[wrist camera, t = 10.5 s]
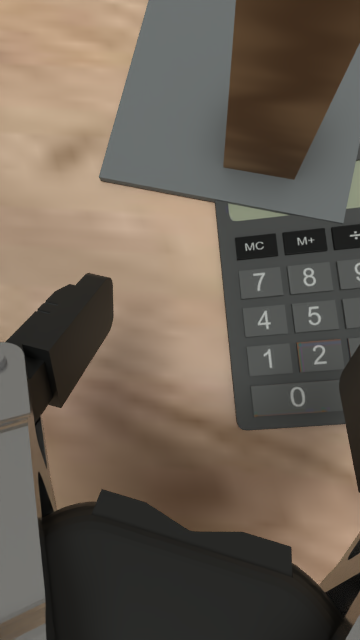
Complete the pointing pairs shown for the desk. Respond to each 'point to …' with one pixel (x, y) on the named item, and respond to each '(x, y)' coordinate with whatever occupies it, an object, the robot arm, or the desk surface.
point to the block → (285, 79)
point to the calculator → (290, 311)
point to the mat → (217, 121)
